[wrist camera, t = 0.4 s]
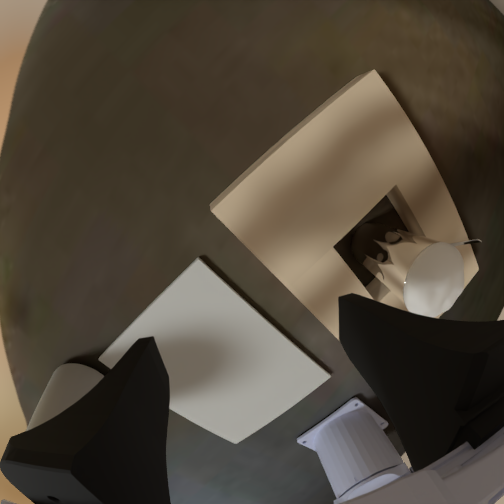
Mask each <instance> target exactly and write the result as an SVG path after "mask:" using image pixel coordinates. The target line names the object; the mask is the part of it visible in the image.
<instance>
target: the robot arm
mask: <svg viewBox="0 0 504 504" xmlns="http://www.w3.org/2000/svg"><path fill="white" fill-rule="evenodd" d="M338 306H339V340H340V342H341V344H342V346H343V348H344V350H345V352H346V353H347V355H348V357H349V359H350V360H351V361H352V363H353V364H354V366H355V367H356V368H357V370H358V371H359V372H360V374H361V375H362V376H363V378H364V379H365V380H366V382H367V383H368V384H369V386H370V387H371V388H372V390H373V391H374V392H375V394H376V395H377V397H378V398H379V400H380V401H381V403H382V405H383V407H384V408H385V410H386V412H387V414H388V416H389V417H390V419H391V421H392V423H393V425H394V427H395V429H396V431H397V433H398V435H399V437H400V440H401V442H402V444H403V446H404V449H405V451H406V453H407V456H408V458H409V461H410V463H411V466H412V467H410V470H409V469H408V467H407V466H406V464H405V463H403V460H402V459H401V457H400V455H399V454H398V452H397V451H396V449H395V448H394V446H393V445H392V443H391V442H390V440H389V439H388V437H387V435H386V434H385V432H384V431H383V429H384V428H386V427H387V426H388V422H387V421H386V420H384V419H383V418H382V417H381V416H379V415H378V414H377V413H376V412H374V411H373V410H372V409H371V408H369V407H368V406H367V405H366V404H364V403H363V402H362V401H361V400H359V399H358V398H357V397H354V398H352V399H351V400H349V401H348V402H347V403H346V404H344V405H343V406H342V407H340V408H339V409H338V410H336V411H335V412H334V413H332V414H331V415H330V416H328V417H327V418H326V419H324V420H323V421H321V422H320V423H319V424H317V425H316V426H314V427H313V428H311V429H310V430H309V431H307V432H306V433H304V434H303V435H301V436H300V437H298V438H297V442H298V443H300V444H302V445H304V446H306V447H308V448H310V449H312V450H314V451H317V453H318V456H319V458H320V460H321V463H322V465H323V468H324V470H325V472H326V475H327V477H328V479H329V482H330V484H331V486H332V488H333V491H334V493H335V495H336V498H337V499H336V500H334V504H494V503H495V502H496V501H497V500H499V499H500V498H501V497H502V496H503V495H504V320H500V321H489V322H466V321H454V320H445V319H438V318H433V317H428V316H423V315H419V314H415V313H412V312H408V311H405V310H401V309H398V308H395V307H392V306H389V305H386V304H384V303H381V302H378V301H375V300H373V299H370V298H367V297H364V296H361V295H358V294H354V293H350V294H347V295H343V296H339V297H338ZM169 404H170V384H169V375H168V373H167V370H166V368H165V365H164V363H163V360H162V357H161V355H160V352H159V350H158V347H157V344H156V342H155V339H154V336H151V337H144V338H139V339H138V340H137V341H136V342H135V343H134V344H133V345H132V346H131V347H130V348H129V349H128V351H127V352H126V353H125V354H124V355H123V356H122V358H121V359H120V360H119V361H118V362H117V363H116V364H115V366H114V367H113V368H112V369H111V370H110V371H109V372H108V373H107V374H106V375H105V376H104V377H103V378H102V379H101V380H100V381H99V383H98V384H97V385H95V386H94V387H93V388H92V389H91V390H90V391H89V392H88V393H87V394H85V395H84V396H83V397H82V398H81V399H79V400H78V401H77V402H76V403H74V404H73V405H71V406H70V407H68V408H67V409H66V410H64V411H63V412H61V413H60V414H58V415H57V416H55V417H53V418H52V419H50V420H48V421H46V422H44V423H42V424H41V425H39V426H37V427H34V428H32V429H30V430H28V431H25V432H23V433H20V434H18V435H15V436H12V437H11V438H10V440H9V442H8V445H7V447H6V450H5V452H4V454H3V456H2V459H1V462H0V468H1V471H2V473H3V474H4V476H5V477H6V478H7V479H8V480H9V481H10V482H11V484H13V485H14V486H15V487H16V488H17V489H18V490H19V491H20V492H22V493H23V494H24V495H25V496H26V497H27V498H29V499H30V500H31V501H32V502H33V503H35V504H171V502H170V496H169V488H168V478H167V466H166V438H167V426H168V415H169ZM1 504H16V503H13V502H10V501H7V500H2V502H1Z"/></svg>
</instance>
